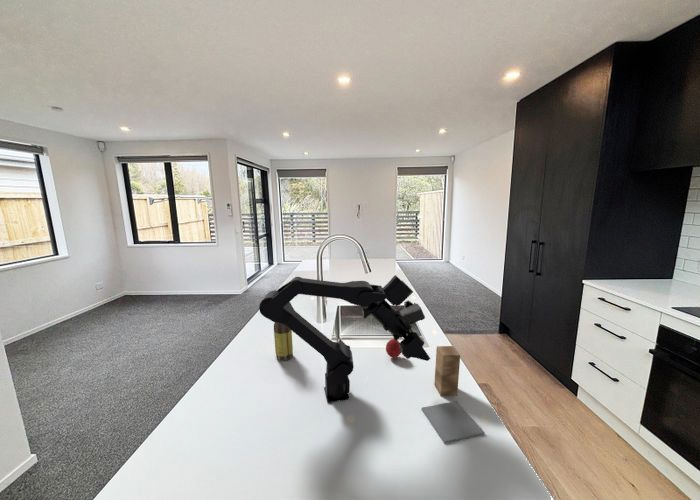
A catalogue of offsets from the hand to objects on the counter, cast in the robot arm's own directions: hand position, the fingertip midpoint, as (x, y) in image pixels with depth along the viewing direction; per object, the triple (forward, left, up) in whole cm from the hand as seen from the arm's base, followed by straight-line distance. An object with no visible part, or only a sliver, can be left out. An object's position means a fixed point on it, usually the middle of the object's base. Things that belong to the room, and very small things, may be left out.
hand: (423, 350), depth 79 cm
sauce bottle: (-40, +29, -13) cm, 51 cm away
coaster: (+2, -12, -13) cm, 18 cm away
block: (+7, -1, -13) cm, 15 cm away
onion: (-1, +19, -13) cm, 23 cm away
